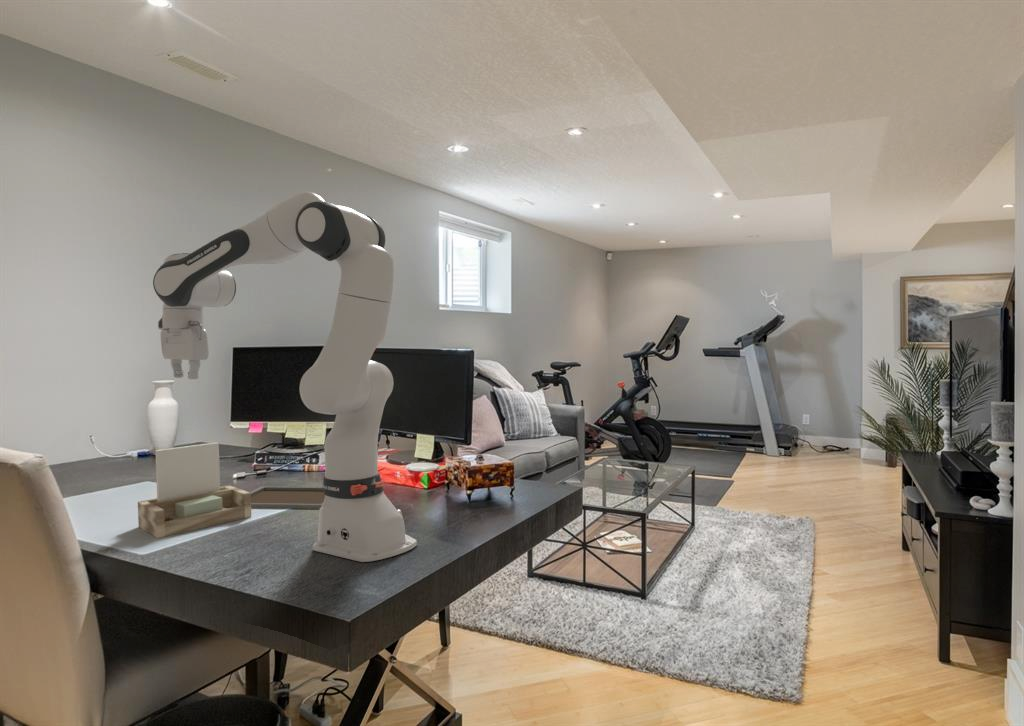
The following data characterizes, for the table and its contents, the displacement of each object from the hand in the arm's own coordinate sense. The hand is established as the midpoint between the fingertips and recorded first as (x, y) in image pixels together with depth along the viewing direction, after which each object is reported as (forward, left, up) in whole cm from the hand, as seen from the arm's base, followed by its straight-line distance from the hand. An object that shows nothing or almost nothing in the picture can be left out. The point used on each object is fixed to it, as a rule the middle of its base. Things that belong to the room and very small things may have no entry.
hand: (185, 378), depth 150 cm
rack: (-4, 0, -35) cm, 35 cm away
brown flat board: (0, -25, -36) cm, 43 cm away
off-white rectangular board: (0, 0, -35) cm, 35 cm away
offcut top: (-6, 0, -32) cm, 33 cm away
